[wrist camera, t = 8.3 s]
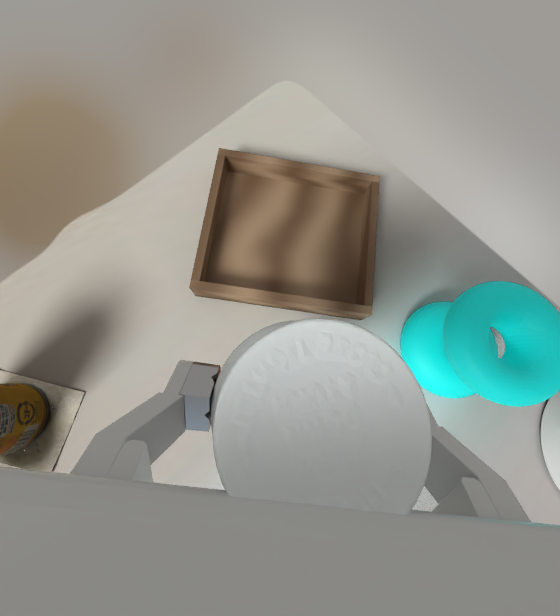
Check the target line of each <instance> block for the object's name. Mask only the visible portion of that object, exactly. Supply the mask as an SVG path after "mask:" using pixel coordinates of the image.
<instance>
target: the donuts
mask: <svg viewBox="0 0 560 616" xmlns="http://www.w3.org/2000/svg"><path fill="white" fill-rule="evenodd" d="M490 327H493V328H495V329H496V330H498V332H499V333H500V334H501V335H502V337H503V339H504V341H505V352H504V355H503V356H502V357H501V358H500V359H499V358H498V349H497V344H496V340H495V338H494V335H493V333H492V331H491V329H490ZM400 348H401V355H402V358H403V360H404V361H405V363H406V364H407V365H408V366H409V368H410V369H411V371H412V372H413V374H414V376H415V378H416V380H417V382H418V383H419V385H421V386H422V387H423V388H425V389H426V390H428V391H430V392H431V393H433V394H436V395H438V396H442V397H447V398H463V397H468V396H471V395H473V394H475V393H477V394H478V395H480V396H482V397H484V398H485V399H488V400H490V401H493V402H495V403H498V404H502V405H507V406H516V407H522V406H530V405H535V404H539V403H541V402H544V401H546V400H547V399H549V398H551V397H552V396H554V395H555V394H556V393H557V392H558V391H559V390H560V314H559V312H558V311H557V310H556V309H555V307H554V306H553V305H552V304H551V303H550V302H549V301H547V300H546V299H545V298H544V297H543V296H541V295H540V294H539V293H537V292H535V291H534V290H532V289H530V288H528V287H525V286H523V285H520V284H516V283H512V282H505V281H493V282H486V283H482V284H479V285H476V286H473V287H471V288H469V289H468V290H466V291H465V292H463V293H462V294H461V295H460V296H459V297H458V298H457V299H456V300H455V301H454V302H434V303H430V304H427V305H425V306H423V307H421V308H419V309H418V310H416V311H415V312H414V313H413V314H412V315H411V316H410V317H409V318H408V320H407V321H406V323H405V325H404V327H403V330H402V334H401V340H400Z"/></svg>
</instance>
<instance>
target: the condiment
mask: <svg viewBox="0 0 560 616" xmlns="http://www.w3.org/2000/svg"><path fill="white" fill-rule="evenodd" d="M84 393H85V392H81V391H77V390H74V389H70V388H66V387H62V386H58V385H55V384H51V383H47V382H44V381H40V380H36V379H33V378H29V377H25V376H21V375H18V374H13V373H10V372H6V371H2V370H0V462H1V463H4V464H8V465H10V466H15V467H19V468H23V469H27V470H37V471H46V472H51V471H52V469H53V466H54V465H55V463H56V461H57V458H58V456H59V454H60V451H61V449H62V446H63V445H64V442H65V440H66V437H67V435H68V433H69V430H70V428H71V426H72V424H73V420H74V417H75V415H76V413H77V411H78V408H79V406H80V403H81V400H82V398H83V395H84ZM52 405H53V408H52V407H51V406H52ZM54 409H56V412H55V411H54ZM24 450H25V451H24Z"/></svg>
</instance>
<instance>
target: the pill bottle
mask: <svg viewBox="0 0 560 616" xmlns="http://www.w3.org/2000/svg"><path fill="white" fill-rule="evenodd" d="M211 426H212V433H213V448H214V456H215V461H216V466H217V469H218V473H219V476H220V478H221V481H222V484H223V486H224V488H225V490H226V493H227V494H228V495H229V496H231V497H236V498H248V499H261V500H273V501H281V502H291V503H305V504H312V505H320V506H329V507H337V508H342V509H354V510H360V511H374V512H384V513H392V514H400V515H407V514H409V512H410V511H411V509H412V508H413V506H414V505H415V503H416V502H417V499H418V497H419V495H420V493H421V491H422V489H423V486H424V484H425V481H426V477H427V474H428V469H429V464H430V458H431V446H432V433H431V423H430V415H429V411H428V408H427V404H426V400H425V397H424V395H423V392H422V390H421V387H420V385H419V383H418V382H417V380H416V378H415V376H414V374H413V372H412V371H411V369H410V368H409V366H408V365H407V364H406V363H405V361H404V360H403V359H402V358H401V357H400V355H399V354H398V353H397V352H396V351H395V350H394V349H393V348H392V347H391V346H390V345H388V344H387V343H386V342H385V341H384V340H382V339H381V338H379V337H378V336H376V335H375V334H373V333H372V332H370V331H368V330H366V329H364V328H362V327H359V326H357V325H354V324H351V323H348V322H344V321H340V320H334V319H323V318H315V319H304V320H299V321H286V322H281V323H277V324H274V325H271V326H268V327H266V328H263V329H261V330H259V331H257V332H256V333H254V334H252V335H251V336H250V337H248V338H247V339H246V340H244V341H243V342H242V343H241V344H240V345H239V346H238V347H237V348H236V349H235V350H234V351H233V352H232V354H231V355H230V356H229V358H228V359H227V361H226V362H225V364H224V366H223V368H222V369H221V371H220V374H219V376H218V378H217V381H216V384H215V387H214V391H213V396H212V403H211Z"/></svg>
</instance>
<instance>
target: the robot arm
mask: <svg viewBox="0 0 560 616" xmlns="http://www.w3.org/2000/svg"><path fill="white" fill-rule="evenodd" d="M219 374H220V365H213V364H206V363H200V362H191V361H185V360H180V361H179V362H178V364H177V366H176V368H175V370H174V372H173V374H172V376H171V378H170V380H169V382H168V384H167V386H166V388H165V390H164V393H158V394H156V395H155V396H153V397H152V398H150V399H149V400H147V401H146V402H144V403H143V404H141V405H139V406H138V407H136V408H135V409H133V410H132V411H130V412H129V413H127V414H126V415H124V416H123V417H121V418H120V419H118V420H117V421H115V422H114V423H112V424H111V425H109V426H108V427H106V428H105V429H103V430H102V431H100V432H99V433H97V434H96V435H95V436H94V438H93V439H92V441H91V442H90V444H89V446H88V447H87V449H86V450H85V452H84V453H83V455H82V456H81V458H80V459H79V461H78V462H77V464H76V466H75V467H74V469H73V470H72V472H71V473H70V474H65V473H56V472H46V471H37V470H27V469H18V468H8V467H0V616H560V525H552V524H543V523H533V522H531V521H530V519H529V518H528V516H527V514H526V513H525V511H524V510H523V508H522V506H521V505H520V503H519V502H518V500H517V498H516V497H515V495H514V494H513V492H512V490H511V489H510V487H509V486H508V484H507V482H506V481H505V480H504V479H503V478H502V477H500V476H499V475H498V474H497V473H496V472H495V471H493V470H492V469H491V468H490V467H489V466H487V465H486V464H485V463H484V462H483V461H482V460H480V459H479V458H478V457H477V456H476V455H475V454H473V453H472V452H471V451H470V450H469V449H468V448H466V447H465V446H464V445H463V444H462V443H460V442H459V441H458V440H457V439H456V438H455V437H453V436H452V435H451V434H450V433H449V432H448V431H446V430H445V429H444V428H443V427H439V426H438V425H437V423H436V421H435V419H434V417H433V415H432V413H431V411H430V409H429V407H428V405H427V408H428V411H429V415H430V423H431V433H432V446H431V458H430V464H429V469H428V474H427V477H426V481H425V484H424V486H425V487H426V488H427V490H428V491H429V492H430V493H431V495H432V496H433V497H434V498H435V500H436V501H437V502H438V503H439V504H438V505H437V506H436V507H435V508H434V509H433V510H432V511H431V512H428V511H418V510H411V511H410V512H409V514H407V515H400V514H392V513H384V512H374V511H360V510H354V509H342V508H337V507H329V506H320V505H312V504H305V503H291V502H281V501H273V500H261V499H248V498H236V497H231V496H229V495H228V494H227V493H226V490H217V489H208V488H198V487H189V486H179V485H169V484H160V483H153V478H152V472H151V466H150V465H151V464H152V463H153V462H154V461H155V460H156V459H157V458H158V457H159V456H160V455H161V454H162V453H163V452H164V451H165V450H166V449H167V448H168V447H169V446H170V445H171V444H172V443H173V442H174V441H175V440H176V439H177V438H178V437H179V436H181V435H182V434H183V433H184V432H185V430H197V431H208V432H209V429H210V425H211V403H212V396H213V391H214V387H215V384H216V381H217V378H218V376H219ZM426 404H427V403H426ZM541 445H542V451H543V455H544V459H545V462H546V465H547V468H548V470H549V473H550V475H551V477H552V479H553V480H554V482H555V484H556V486H557V487H558V489H559V490H560V390H559V391H558V392H557V393H556V394H555V395H554V396H552V397H551V398H550V399H549V401H548V403H547V405H546V407H545V410H544V413H543V417H542V422H541Z"/></svg>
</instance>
